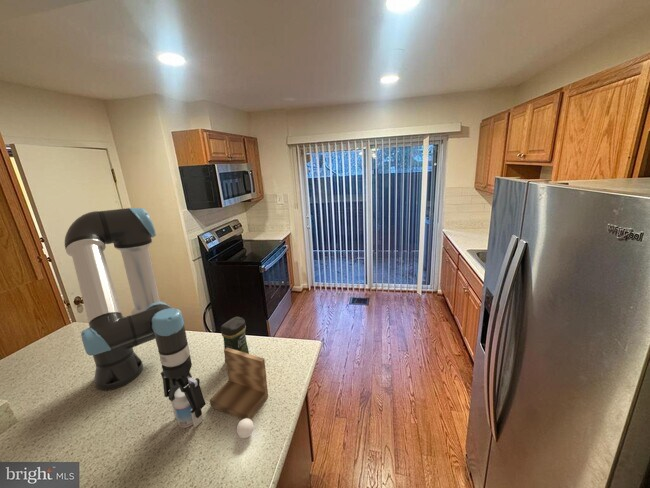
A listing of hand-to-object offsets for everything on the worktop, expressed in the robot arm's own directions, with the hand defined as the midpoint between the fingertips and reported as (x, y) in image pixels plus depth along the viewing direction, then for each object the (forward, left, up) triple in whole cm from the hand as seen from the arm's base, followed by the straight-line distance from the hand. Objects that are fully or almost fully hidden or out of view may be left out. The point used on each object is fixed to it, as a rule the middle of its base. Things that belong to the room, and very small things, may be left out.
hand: (188, 418), depth 84 cm
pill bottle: (0, 0, 0) cm, 0 cm away
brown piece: (+11, +12, 0) cm, 16 cm away
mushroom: (+21, +3, 0) cm, 21 cm away
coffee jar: (-4, +28, 0) cm, 28 cm away
